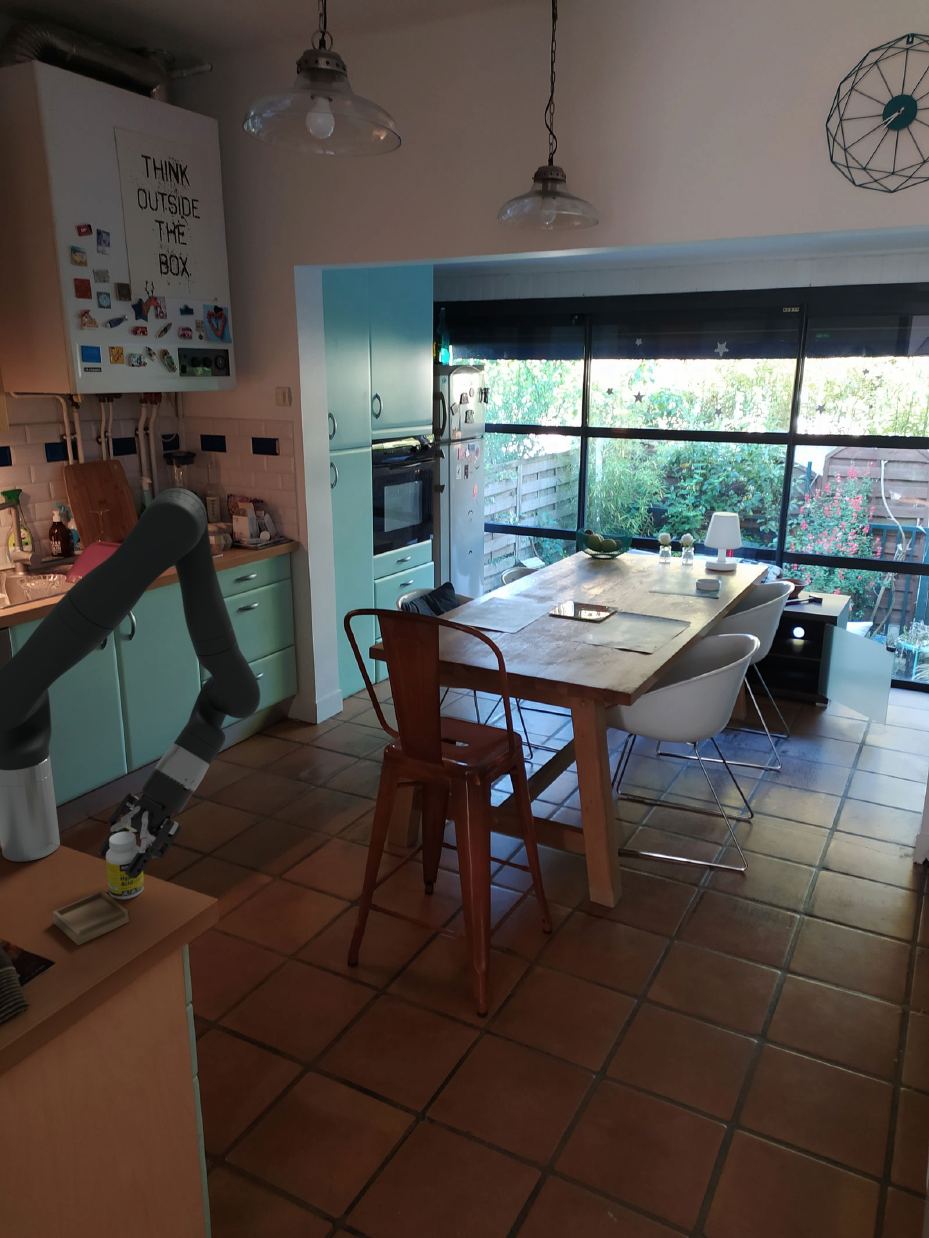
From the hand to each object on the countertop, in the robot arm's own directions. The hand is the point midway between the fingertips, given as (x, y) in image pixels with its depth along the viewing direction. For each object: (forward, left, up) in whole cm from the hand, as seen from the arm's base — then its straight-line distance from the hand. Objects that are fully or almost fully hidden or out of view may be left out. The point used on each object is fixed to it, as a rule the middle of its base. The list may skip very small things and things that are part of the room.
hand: (116, 865), depth 146 cm
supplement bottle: (0, +1, -5) cm, 6 cm away
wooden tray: (+4, -7, -5) cm, 9 cm away
